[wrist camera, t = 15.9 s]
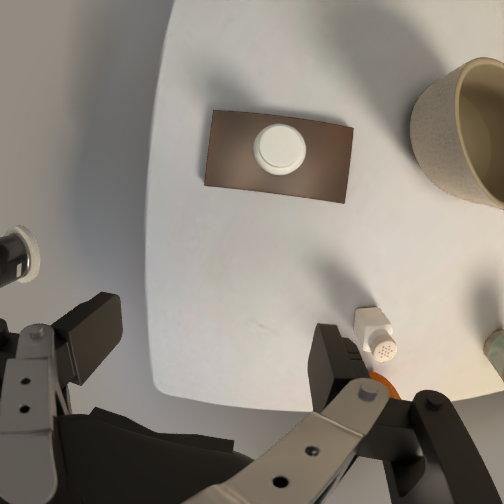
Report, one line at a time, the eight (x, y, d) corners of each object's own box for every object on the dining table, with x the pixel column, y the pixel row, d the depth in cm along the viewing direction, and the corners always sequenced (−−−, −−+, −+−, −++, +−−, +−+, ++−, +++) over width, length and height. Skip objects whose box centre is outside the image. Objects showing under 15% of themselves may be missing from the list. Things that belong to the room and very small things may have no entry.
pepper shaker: (379, 305, 41) (402, 336, 32) (376, 329, 42) (397, 362, 32) (354, 307, 41) (372, 339, 32) (352, 331, 42) (368, 366, 33)
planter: (373, 139, 35) (425, 120, 21) (431, 66, 31) (486, 32, 17) (449, 222, 37) (514, 244, 22) (498, 146, 33) (561, 144, 18)
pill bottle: (284, 125, 35) (287, 107, 25) (308, 160, 35) (320, 154, 26) (248, 149, 36) (239, 138, 26) (273, 184, 36) (272, 185, 27)
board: (206, 185, 39) (204, 185, 37) (215, 112, 36) (213, 109, 35) (342, 202, 38) (344, 203, 36) (350, 129, 35) (353, 127, 34)
